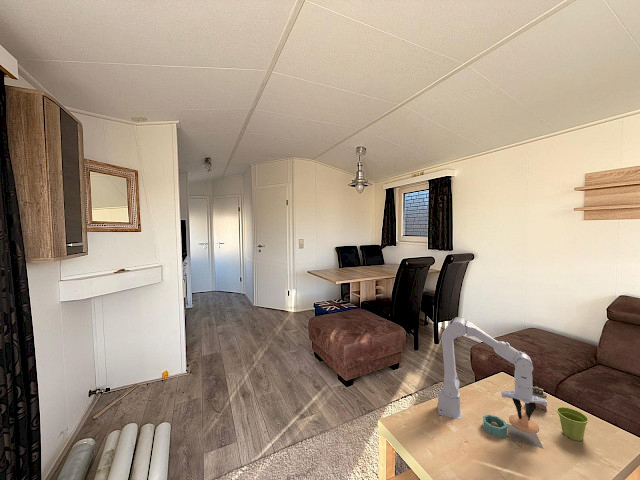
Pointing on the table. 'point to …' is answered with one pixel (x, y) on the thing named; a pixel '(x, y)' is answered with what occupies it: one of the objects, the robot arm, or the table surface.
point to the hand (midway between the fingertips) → (523, 418)
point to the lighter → (539, 393)
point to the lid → (524, 423)
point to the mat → (524, 437)
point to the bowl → (494, 430)
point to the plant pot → (572, 423)
